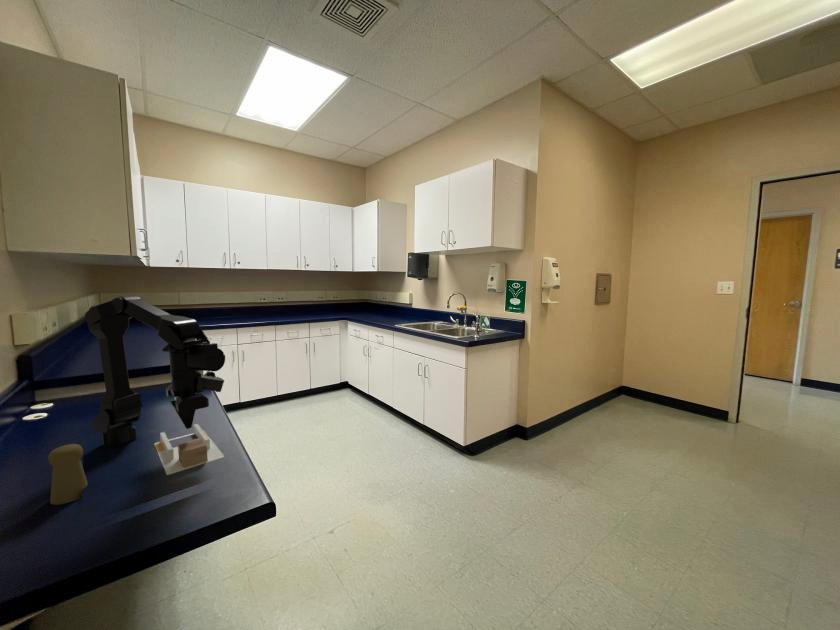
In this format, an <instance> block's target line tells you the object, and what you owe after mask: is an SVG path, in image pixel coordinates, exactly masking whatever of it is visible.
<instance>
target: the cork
mask: <svg viewBox="0 0 840 630" xmlns="http://www.w3.org/2000/svg"><path fill="white" fill-rule="evenodd" d="M83 454H84V449H83V447H82V445H80V444H77V443H71V444H66V445H65V444H64V445H61V446H59V447H56V448H54V449H52V450H51V451H50V452H49V454H48V457H47V458H48V459H47V460H48V463H49V465H51V466H52V475H51V485H50V486H51V487H50V500H49V503H50V504H51V505H56V506H58V505H65V504H68V503H72V502H74V501H77V500H79V499H81V498H83V493H84V492H83V490H84V489H85V488H87V487H88V485H89V483H88V480H87V477H86V474H85V471H84V466H83V464H82V461H81V458H82V456H83Z"/></svg>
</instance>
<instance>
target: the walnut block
mask: <svg viewBox="0 0 840 630" xmlns="http://www.w3.org/2000/svg"><path fill="white" fill-rule="evenodd" d="M177 447H178V453H179V460H180V462H181V464H182V466H183V468H186V467H189V466H192V465H195V464H198V463H202V462H205V461H208V459H207V445H206V444H205V442H204V441H203V440H202V438H197V437H196V438H194V439H190V440H187V441H183V442H180V443H179V442H178V443H177Z"/></svg>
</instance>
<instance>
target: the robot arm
mask: <svg viewBox="0 0 840 630" xmlns="http://www.w3.org/2000/svg"><path fill="white" fill-rule="evenodd" d="M131 318H134V319H135V320H138V321H139V322H141V323H143V324H145V325H146V326H149V327H150V328H153V329H154V330H155V331H156V333H157V336H158V337H159V338H160V339H162V341H164V342H165V343H167V345H166V346H164V347H163V348H162V349H161V351H162V352H164V353H165V352H167V353H168V354H169V365H170V367H169V368H170V372H169V374H168V375H169V378H170V380H171V384H169V385H168V386H166V388H165V392H166V393H165V394H166V397H167V398H171V396H173V397H174V400H171V401H170V404H171V406H172V408H173V409H174V411H175V412H176V414H177V415H178V417H179V419H180V420H181V422H182V424H183V426H184V427H185V429H187V430H188V429H191V428H192V426H193V423H194V418H195V414H196V411H197V410H200V409H205V408H208V407H209V406H210V402H209V398H208V397H207V396H206V395H205V394H203V392H204V391H205V390H206V391H211V392H212V391H213V392H216V393H221V392H222V389H223V386H224V383H225V380H224V379H223V378H221V377H219V376H216V372H218V371H220V370H221V369H222V368H223V367H224V365H225V364H226V363H225V362H226V355H225V353H224V352H223V350H222V349H220V348H219V346H218V343H215V342H213V343H211V342H210V340H209V338H208V337H207V335H206V334H205V333H204V331H203V329H202V328H201V327H200V325H199V323H198V321H197V320H196V319H194V318H190V317H187V316H182V315H174V314H170V313H168V312H166V311H165V310H162V309H160V308H159V307H157V306H155V305H153V304H151V303H149V302H147V301H145V300H143V298H141V297H139V296H136V295H126V296H125V295H124V296H123V295H121V296H120V295H119V296H118V297H115V298H113V299H111V300H109V301H106V302H103V303H101V304H97V305H94V306H91V307H89V308H88V310H87V311H86V312H85V314H84V320H85V322H86V325H87V328H88V330H89V332H90V333H91V334H92V335H93V336H95V337H96V339H98V345H99V351H100V358H101V365H102V373H103V380H104V385H105V393H104V395H103V397H102V399H101V400H100V402H99V412H98V415H96V417H95V419H94V420H93V421H92V423H91V426H92V428H93V432H98V433H102V441H103V442H102V443H103V448H104V449H106V448H114V447H119V446H124V445H125V444H129V443H130V442H133V441H136V440H137V431H136V427H135V425H133V423H135V422H139V421H140V417H141V414H142V408H143V403H142V397H141V394H140V393H139V392H138V393H137V392H135V391H134V390H133V389H131V386H130V378H129V372H128V371H129V370H128V365H127V364H128V363H127V357H126V349H125V348H126V347H125V343H124V336H125V334H126V333H127V330H129V327H130V319H131ZM201 371H203V372H206V373H204V374H202V373H201Z"/></svg>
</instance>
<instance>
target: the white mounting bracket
mask: <svg viewBox="0 0 840 630" xmlns="http://www.w3.org/2000/svg"><path fill="white" fill-rule="evenodd" d="M159 435H160V436H159V437H160V438H159V439H160V441H157V442H155V443H153V444H154V447H155V449H156V452H157V454H158V456H159V459H160V462H161V465H162V466H163V469H164V471H165V474H166V476H169V475H172V474H175V473H178V472H182V471H185V470H188V469H192V468H195V467H197V466H200V465H204V464H207V463H210V462H213V461H216V460H219V459H223V458H225V455H224V454H223V453H222V451H221V450H220V448H219V447H217V446H218V445H216V443H215V442H214V441H213V440H212V439H211V437H209V435H208V434H207V432H206V431H205V430H203V428H202V427H201V426H200V425H199V424H198V423H196V424H193V433H189V434H185V435H181V436H177V437H174V438H168V436H167V434H166V432H165V431H162V432H160V433H159ZM194 435H195V436H196V439H197V438H202V440H203V441H204V442H205V444H206V445H207V459H208V461H205V462H202V463H198V464H195V465H192V466H189V467H186V468H183V466H182V464H181V462H180V460H179V453H178V446H175V447H173V445H172V444H171V442H170V441H174V440H178V439H183V438H186V437H189V436H194Z"/></svg>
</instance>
